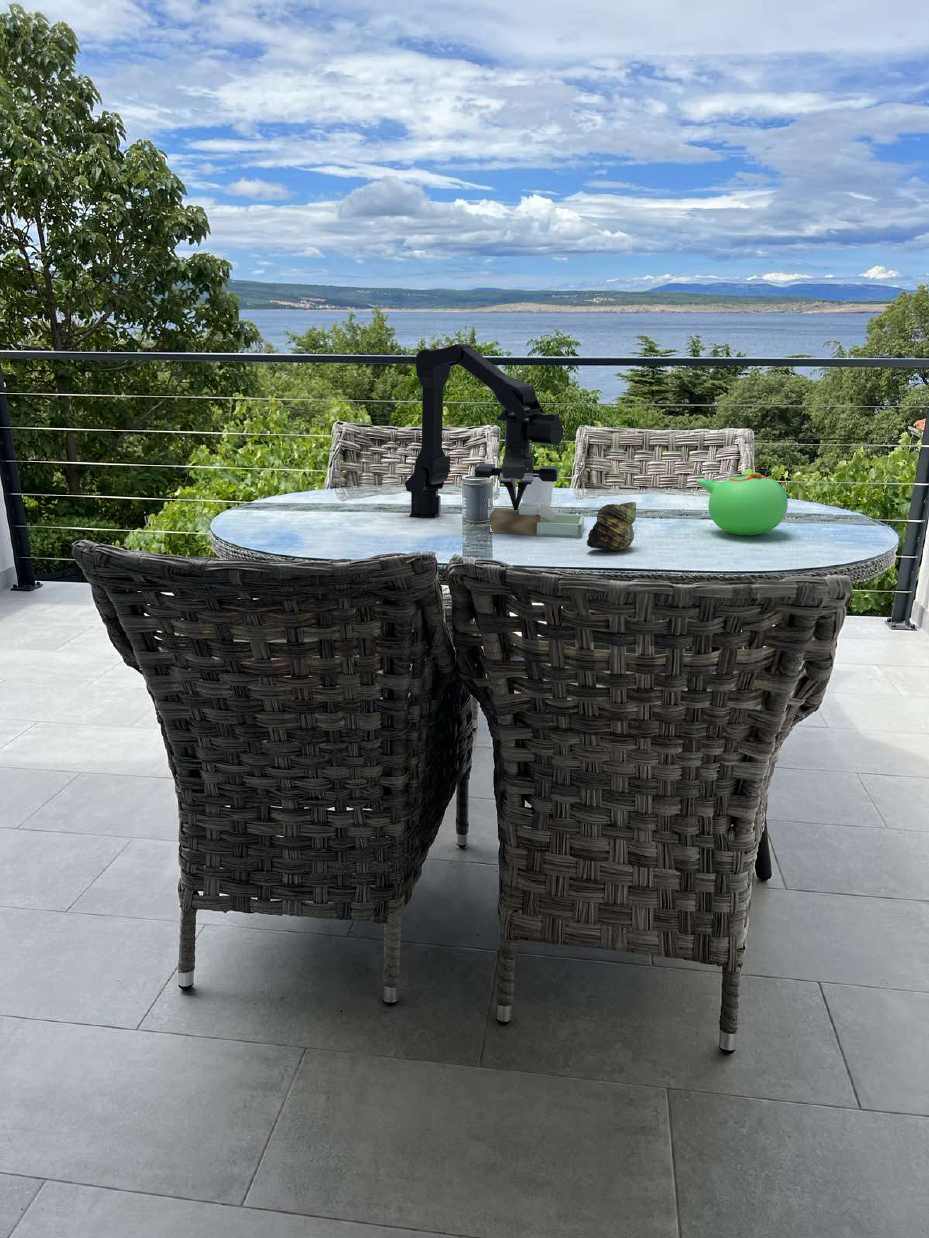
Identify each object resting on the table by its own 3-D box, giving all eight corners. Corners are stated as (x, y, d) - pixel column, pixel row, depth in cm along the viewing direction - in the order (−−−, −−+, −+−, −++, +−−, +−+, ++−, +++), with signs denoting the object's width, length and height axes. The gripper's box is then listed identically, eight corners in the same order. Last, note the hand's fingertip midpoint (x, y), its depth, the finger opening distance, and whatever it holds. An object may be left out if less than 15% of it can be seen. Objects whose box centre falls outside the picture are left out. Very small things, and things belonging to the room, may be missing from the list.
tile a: (519, 514, 226) (519, 506, 226) (521, 511, 230) (521, 502, 230) (536, 515, 226) (536, 506, 225) (538, 511, 230) (538, 503, 229)
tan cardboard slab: (489, 532, 226) (489, 515, 225) (494, 524, 235) (494, 508, 234) (537, 535, 225) (537, 517, 223) (540, 526, 233) (541, 510, 232)
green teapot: (738, 545, 217) (745, 478, 213) (688, 530, 231) (693, 467, 227) (799, 537, 225) (806, 473, 221) (747, 523, 239) (753, 463, 235)
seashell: (577, 544, 217) (580, 498, 214) (629, 543, 218) (631, 498, 215) (587, 555, 207) (590, 508, 204) (641, 555, 208) (644, 507, 205)
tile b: (537, 514, 226) (540, 506, 225) (538, 511, 230) (542, 503, 229) (553, 521, 226) (556, 513, 225) (554, 518, 229) (557, 510, 229)
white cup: (550, 518, 243) (551, 477, 240) (518, 516, 244) (519, 476, 241) (554, 512, 250) (555, 472, 247) (523, 510, 252) (524, 471, 249)
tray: (536, 536, 224) (537, 522, 223) (541, 526, 234) (541, 513, 233) (581, 538, 222) (581, 525, 221) (583, 527, 232) (584, 515, 232)
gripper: (471, 444, 217) (470, 514, 222) (555, 447, 214) (553, 518, 219) (479, 438, 228) (478, 505, 233) (560, 441, 225) (557, 509, 230)
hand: (515, 509), depth 228 cm, fingers closed
